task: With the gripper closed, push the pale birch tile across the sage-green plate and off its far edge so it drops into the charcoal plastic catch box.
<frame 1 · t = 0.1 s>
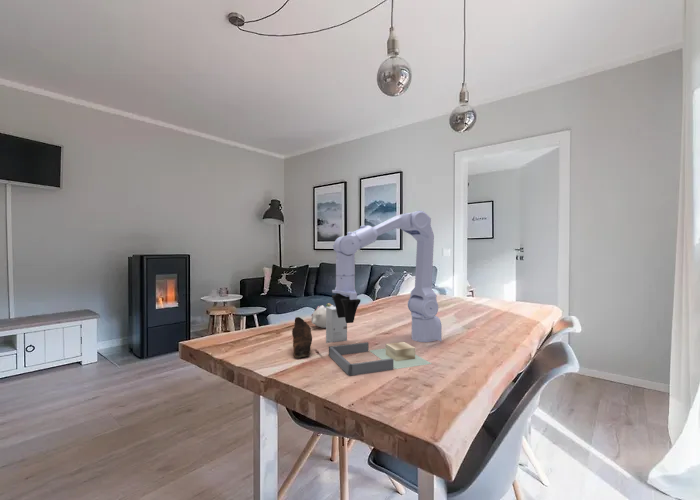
hand: (345, 319, 101), 10 cm above the table, tool pointing down, fingers open, 7 cm apart
decorative rock: (301, 353, 101), on the table
far plate: (398, 361, 93), on the table
catch box: (359, 367, 89), on the table
birch tile: (400, 356, 93), point 1 cm above the table, touching far plate
skincare box: (336, 344, 111), on the table
cat figurine: (324, 327, 134), on the table
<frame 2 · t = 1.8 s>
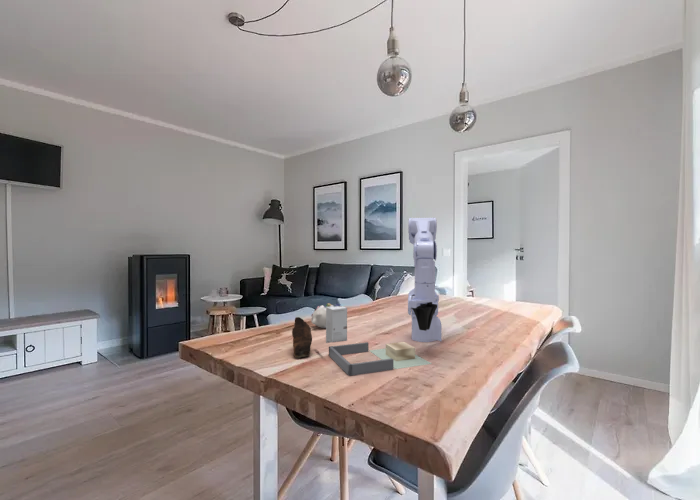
hand: (424, 329, 96), 8 cm above the table, tool pointing down, fingers closed
nothing on the table moved.
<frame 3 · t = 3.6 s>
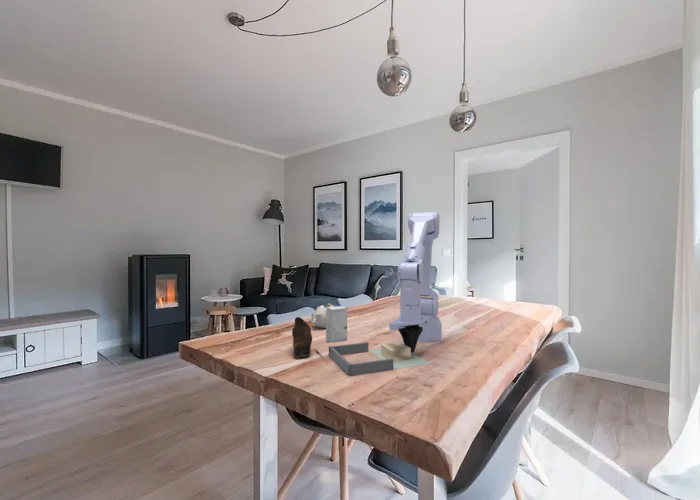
hand: (410, 351, 94), 2 cm above the table, tool pointing down, fingers closed
birch tile: (395, 356, 93), point 2 cm above the table, touching far plate, gripper
everything else where it was.
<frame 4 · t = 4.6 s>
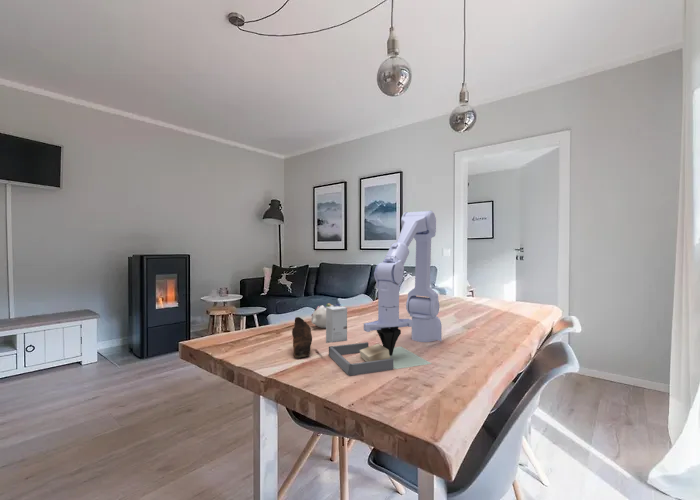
hand: (388, 354, 92), 2 cm above the table, tool pointing down, fingers closed
birch tile: (375, 360, 91), point 1 cm above the table, tilted 12°, touching gripper
everything else where it was.
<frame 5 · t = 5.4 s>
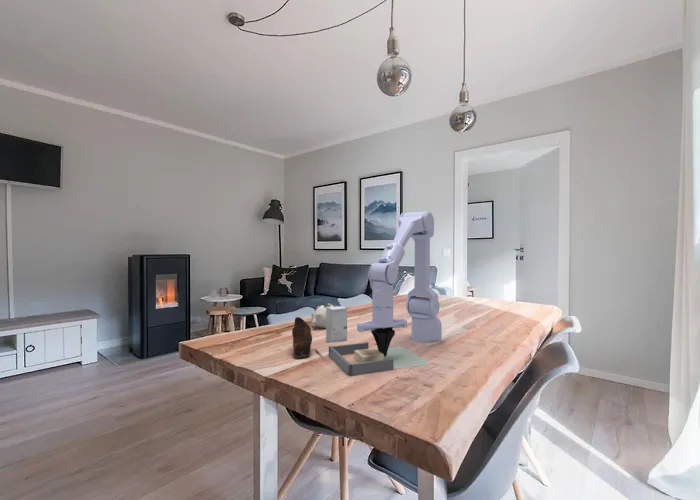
hand: (382, 355, 91), 2 cm above the table, tool pointing down, fingers closed
birch tile: (368, 363, 90), point 1 cm above the table, touching catch box, gripper
everything else where it was.
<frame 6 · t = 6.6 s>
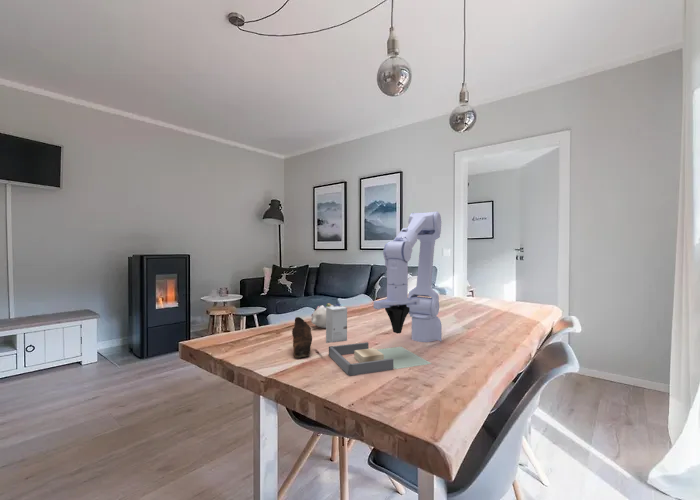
hand: (397, 332, 93), 8 cm above the table, tool pointing down, fingers closed
birch tile: (368, 363, 90), point 1 cm above the table, touching catch box
everything else where it was.
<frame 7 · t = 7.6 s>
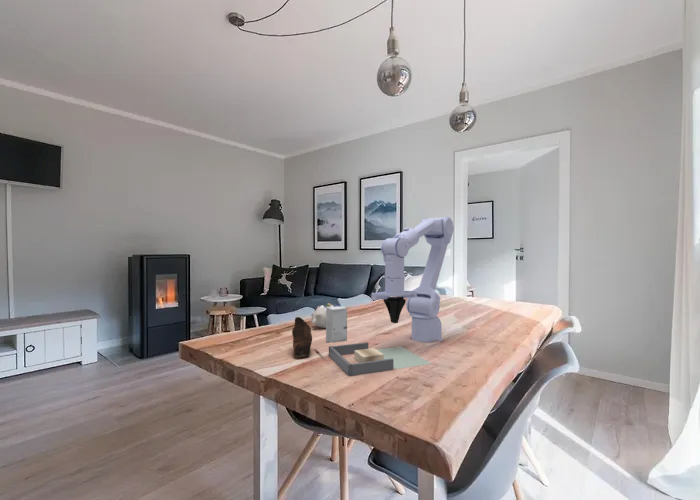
hand: (394, 322, 100), 9 cm above the table, tool pointing down, fingers closed
nothing on the table moved.
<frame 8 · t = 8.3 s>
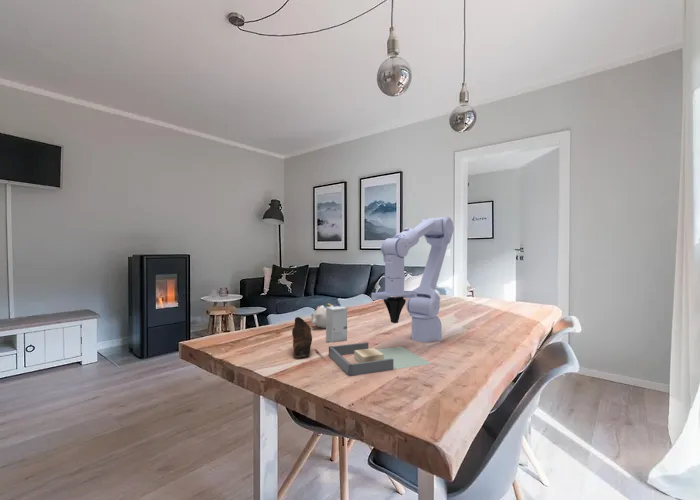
hand: (394, 322, 100), 9 cm above the table, tool pointing down, fingers closed
nothing on the table moved.
at the end: birch tile inside the target area on the catch box (3.0 cm from its centre), point 0.6 cm above the catch box's base; birch tile point 0.6 cm above the table; the gripper is holding nothing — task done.
